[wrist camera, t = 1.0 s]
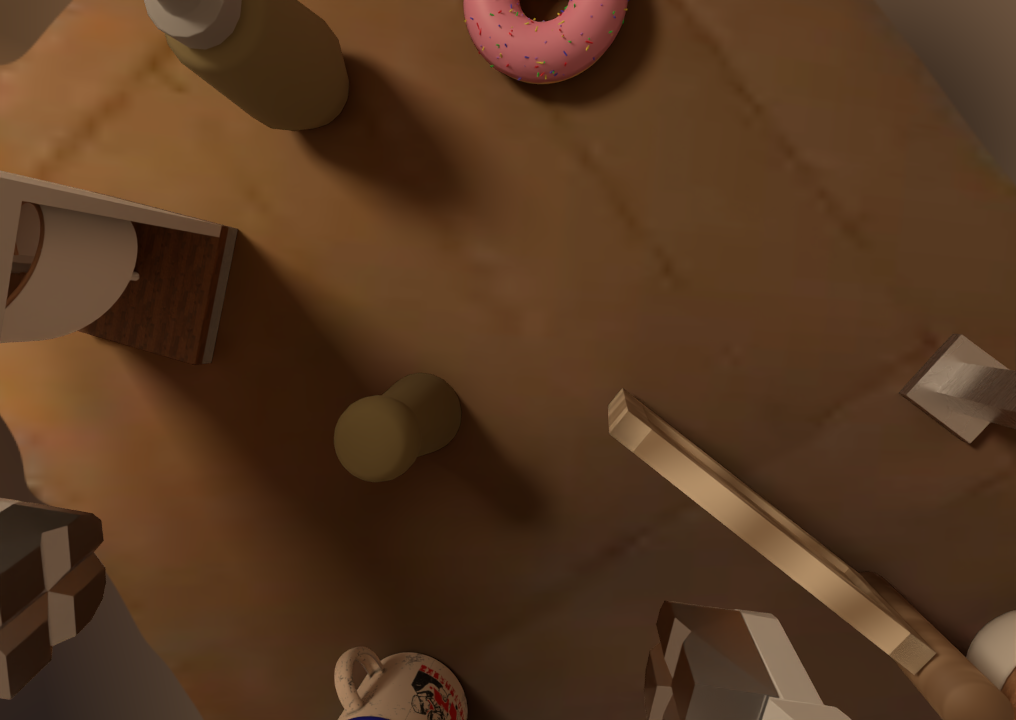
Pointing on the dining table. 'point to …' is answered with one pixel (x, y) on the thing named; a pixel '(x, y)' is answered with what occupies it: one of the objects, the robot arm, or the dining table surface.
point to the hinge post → (945, 669)
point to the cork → (397, 427)
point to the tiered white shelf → (109, 270)
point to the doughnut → (543, 37)
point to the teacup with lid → (398, 688)
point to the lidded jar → (997, 654)
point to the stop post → (964, 389)
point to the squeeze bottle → (260, 56)
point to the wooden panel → (765, 529)
